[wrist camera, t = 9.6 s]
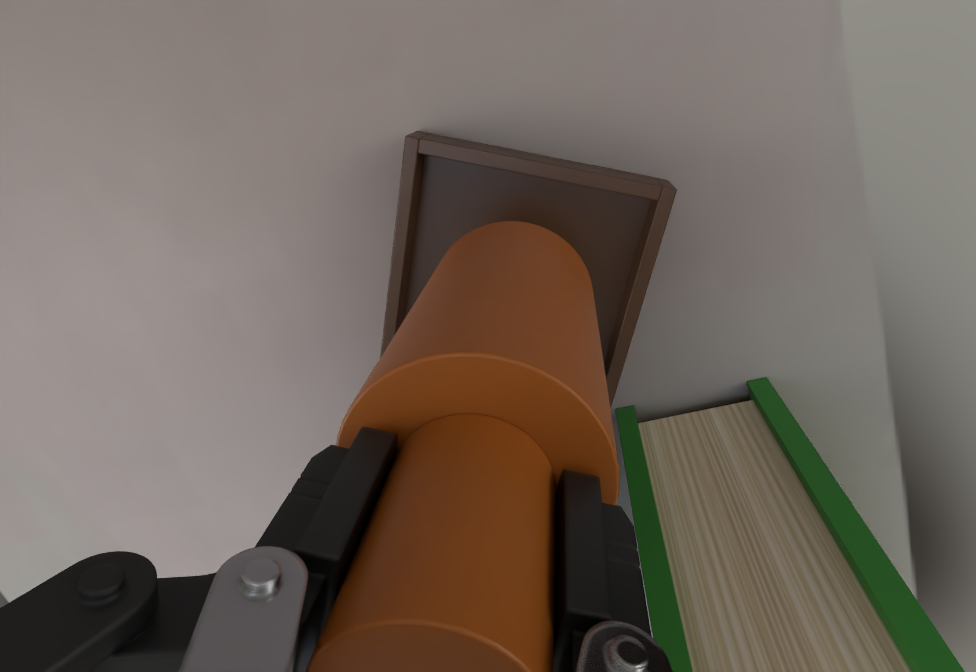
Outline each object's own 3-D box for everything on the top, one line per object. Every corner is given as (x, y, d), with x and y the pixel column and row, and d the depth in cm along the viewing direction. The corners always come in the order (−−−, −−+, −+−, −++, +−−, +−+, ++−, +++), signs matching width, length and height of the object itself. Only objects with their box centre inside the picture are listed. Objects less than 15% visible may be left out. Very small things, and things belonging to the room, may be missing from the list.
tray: (368, 532, 36) (357, 559, 34) (416, 130, 27) (405, 135, 25) (552, 571, 36) (552, 601, 34) (668, 180, 26) (677, 189, 24)
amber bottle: (423, 354, 24) (212, 795, 9) (444, 205, 22) (203, 491, 7) (572, 385, 24) (591, 882, 9) (611, 238, 21) (721, 603, 7)
